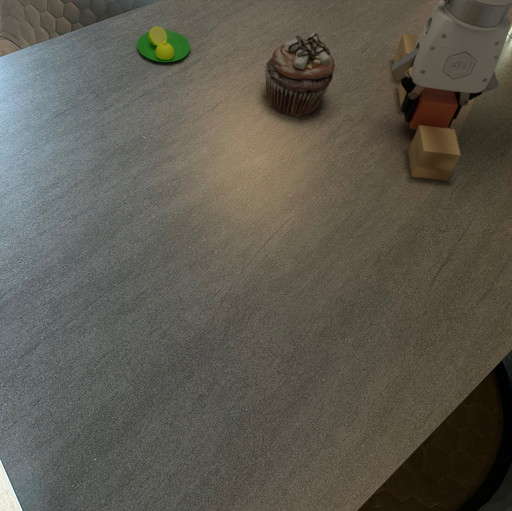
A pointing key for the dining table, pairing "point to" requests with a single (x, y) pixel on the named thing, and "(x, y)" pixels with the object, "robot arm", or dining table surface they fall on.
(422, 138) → the maple block
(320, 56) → the cupcake
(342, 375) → the dining table surface
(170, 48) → the lemon
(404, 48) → the maple block
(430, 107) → the terracotta block
